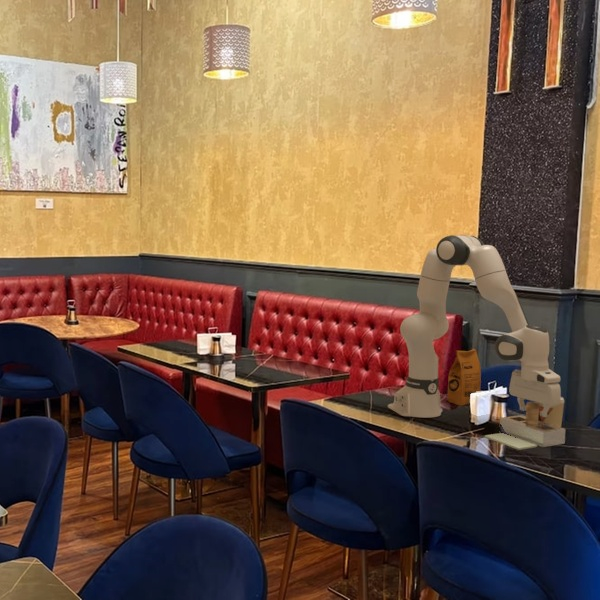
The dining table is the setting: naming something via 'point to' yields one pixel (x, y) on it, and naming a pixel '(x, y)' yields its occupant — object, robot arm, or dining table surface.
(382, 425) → the dining table surface
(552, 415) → the coffee cup
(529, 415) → the plug
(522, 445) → the mat
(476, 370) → the coffee package
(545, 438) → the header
